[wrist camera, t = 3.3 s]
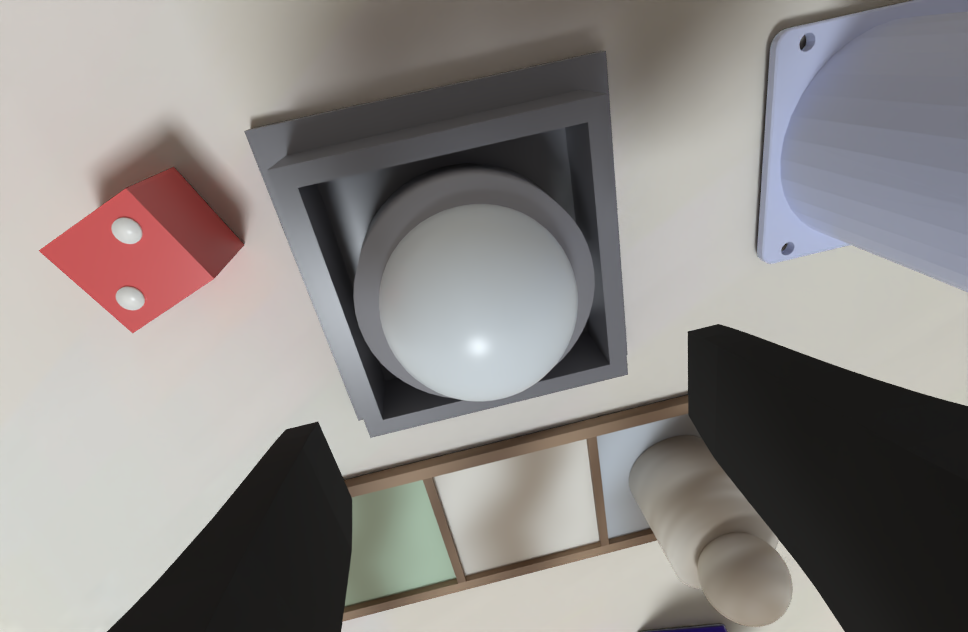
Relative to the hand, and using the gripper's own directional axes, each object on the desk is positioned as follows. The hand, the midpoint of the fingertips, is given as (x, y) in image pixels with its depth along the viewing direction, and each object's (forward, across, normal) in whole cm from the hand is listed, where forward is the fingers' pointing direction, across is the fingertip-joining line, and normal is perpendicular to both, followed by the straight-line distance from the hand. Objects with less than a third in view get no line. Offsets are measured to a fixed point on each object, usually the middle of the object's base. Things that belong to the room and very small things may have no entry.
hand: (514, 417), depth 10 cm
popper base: (+9, 0, 0) cm, 9 cm away
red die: (+9, +9, -3) cm, 13 cm away
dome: (+8, 0, 0) cm, 8 cm away
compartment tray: (+9, 0, +13) cm, 16 cm away
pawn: (+9, -7, +13) cm, 18 cm away
